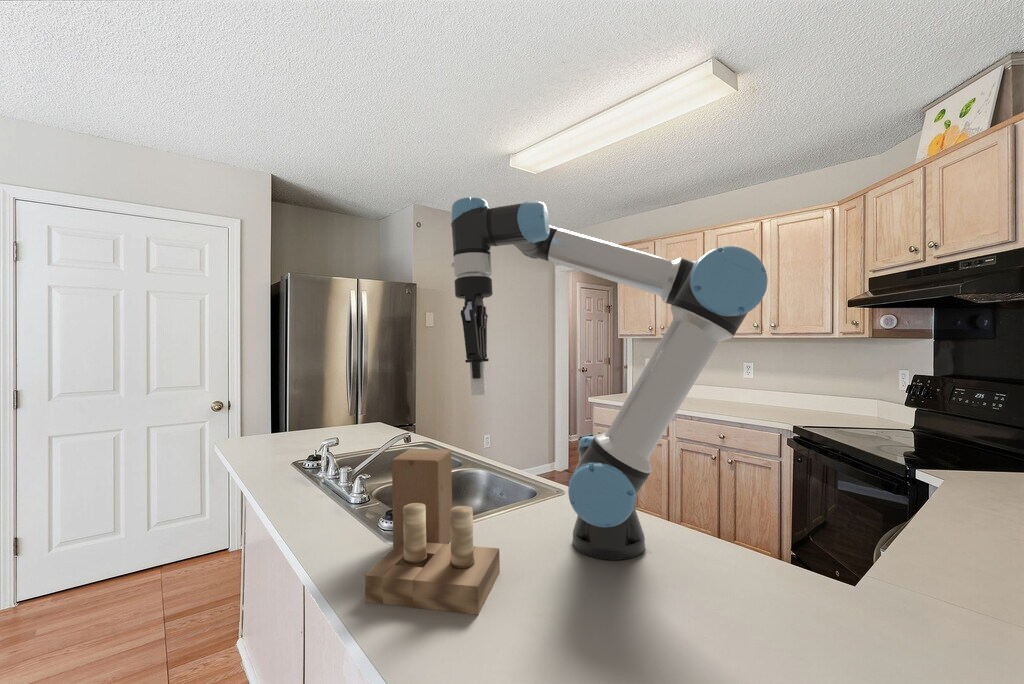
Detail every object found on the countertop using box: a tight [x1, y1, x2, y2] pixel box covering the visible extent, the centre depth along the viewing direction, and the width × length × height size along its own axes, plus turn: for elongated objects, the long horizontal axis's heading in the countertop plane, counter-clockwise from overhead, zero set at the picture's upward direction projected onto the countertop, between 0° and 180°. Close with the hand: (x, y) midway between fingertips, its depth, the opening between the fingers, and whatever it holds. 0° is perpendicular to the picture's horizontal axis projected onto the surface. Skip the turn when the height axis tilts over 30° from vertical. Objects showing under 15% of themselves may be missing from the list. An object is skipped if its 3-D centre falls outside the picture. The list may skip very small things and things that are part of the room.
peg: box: [403, 503, 427, 568], centre depth 83 cm, size 4×4×14 cm
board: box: [364, 505, 501, 616], centre depth 82 cm, size 20×14×14 cm
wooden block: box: [391, 448, 453, 550], centre depth 99 cm, size 10×10×20 cm
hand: (478, 394), depth 92 cm, fingers closed
